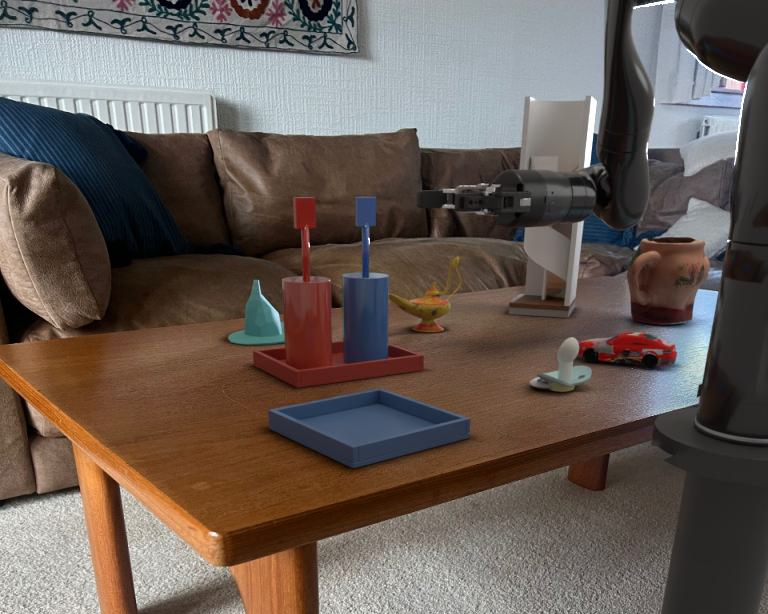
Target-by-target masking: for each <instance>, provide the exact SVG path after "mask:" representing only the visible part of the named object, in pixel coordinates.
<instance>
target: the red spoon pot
mask: <svg viewBox="0 0 768 614" xmlns="http://www.w3.org/2000/svg"><path fill="white" fill-rule="evenodd" d="M292 206H293V207H292V208H293V228H294V229H299V230H301V231H300V234H301V261H302V262H301V263H302V265H301V266H302V267H301V268H302V275H298V276H297V275H296V276H288V277H284V278H282V279H281V289H282V290H281V292H282V311H283V312H282V313H283V315H282V317H283V322H284V342H285V343H284V347H285V364H287V365H289V366H291V367H293V368H295V369H298V370H303V369H311V368H319V367H326V366H332V342H333V321H332V320H333V318H332V315H333V313H332V311H333V309H332V279H331V278H329V277H326V276H316V275H311V262H310V261H311V256H310V229H316V228H317V215H316V214H317V211H316V197H315V196H311V197H310V196H308V197H306V196H305V197H299V196H298V197H293V198H292Z"/></svg>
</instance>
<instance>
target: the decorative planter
mask: <svg viewBox="0 0 768 614" xmlns="http://www.w3.org/2000/svg"><path fill="white" fill-rule="evenodd" d="M705 247H706V241H705V240H702V239H697V238H695V237H689V236H664V237H651V238H650V237H649V238H643V239H641V241H640V242H639V244H638V247H637V249H636V251H635V252H634V254H633V256H632V257H631V259H630V261H629V264H628V267H627V272H626V280H627V284H628V291H629V296H630V301H629V302H630V315H631V318H632V320H633V321H634V322H639V323H644V324H652V325H678V324H685V323H688V322H690V321H692V320H693V317H694V316H693V315H694V306H695V301H696V296H697V293H698V292H699V289H700V288H701V286H702V285H703V284H704V282H705V281H706V280H707V279H708V277H709V272H710V269H711V263H710V260H709V259H708V257H707V255H706V253H705Z"/></svg>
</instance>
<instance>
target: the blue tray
mask: <svg viewBox="0 0 768 614" xmlns="http://www.w3.org/2000/svg"><path fill="white" fill-rule="evenodd" d="M267 413H268V415H267V416H268V429H269V430H271V431H273V432H274V433H276V434H280V435H282V436H284V437H285V438H288V439H290V440H292V441H294V442H296V443H299V444H300V445H302V446H304V447H307V448H309V449H311V450H313V451H314V452H317V453H319V454H321V455H323V456H326V457H327V458H330V459H332V460H334V461H336V462H338V463H340V464H342V465H344V466H347V467H349V468H351V469H357V468H361V467H365V466H368V465H373V464H375V463H380V462H383V461H387V460H392V459H395V458H399V457H403V456H406V455H410V454H414V453H419V452H421V451H425V450H429V449H434V448H436V447H441V446H444V445H448V444H451V443H456V442H460V441H462V440H463V441H464V440H466V439H470V435H471V418H470V417H467V416H464V415H461V414H459V413H455V412H452V411H449V410H447V409H443V408H440V407H437V406H435V405H432V404H428V403H425V402H422V401H420V400H417V399H414V398H412V397H407V396H405V395H403V394H399V393H397V392H396V393H395V392H393V391H390V390H387V389H385V388H381V387H379V388H378V387H377V388H374V389H369V390H368V389H367V390H363V391H358V392H353V393H347V394H342V395H337V396H333V397H327V398H322V399H321V398H320V399H317V400H312V401H306V402H301V403H297V404H292V405H286V406H280V407H275V408H271V409H268V411H267Z"/></svg>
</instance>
